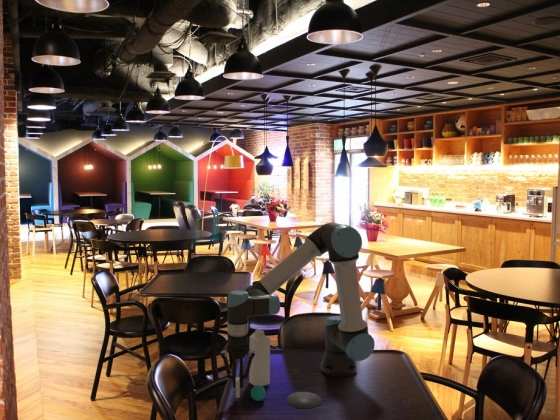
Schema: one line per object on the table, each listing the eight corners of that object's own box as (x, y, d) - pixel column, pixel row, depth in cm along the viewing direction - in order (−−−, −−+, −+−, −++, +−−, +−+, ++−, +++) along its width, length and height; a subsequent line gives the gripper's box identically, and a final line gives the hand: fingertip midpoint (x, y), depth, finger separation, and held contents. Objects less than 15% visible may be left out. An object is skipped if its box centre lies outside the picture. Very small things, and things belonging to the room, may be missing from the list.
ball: (265, 396, 185) (265, 382, 185) (265, 403, 180) (265, 389, 179) (250, 396, 185) (250, 382, 185) (250, 403, 180) (250, 389, 179)
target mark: (319, 392, 190) (319, 391, 190) (323, 408, 177) (323, 407, 177) (285, 392, 189) (285, 391, 189) (287, 408, 176) (287, 408, 176)
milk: (257, 388, 193) (257, 333, 191) (249, 382, 198) (249, 329, 196) (270, 384, 197) (270, 330, 195) (261, 378, 201) (261, 326, 200)
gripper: (219, 337, 176) (219, 400, 178) (255, 337, 177) (255, 400, 179) (221, 330, 184) (221, 391, 186) (255, 330, 184) (255, 391, 186)
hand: (237, 395), depth 182 cm, fingers closed
